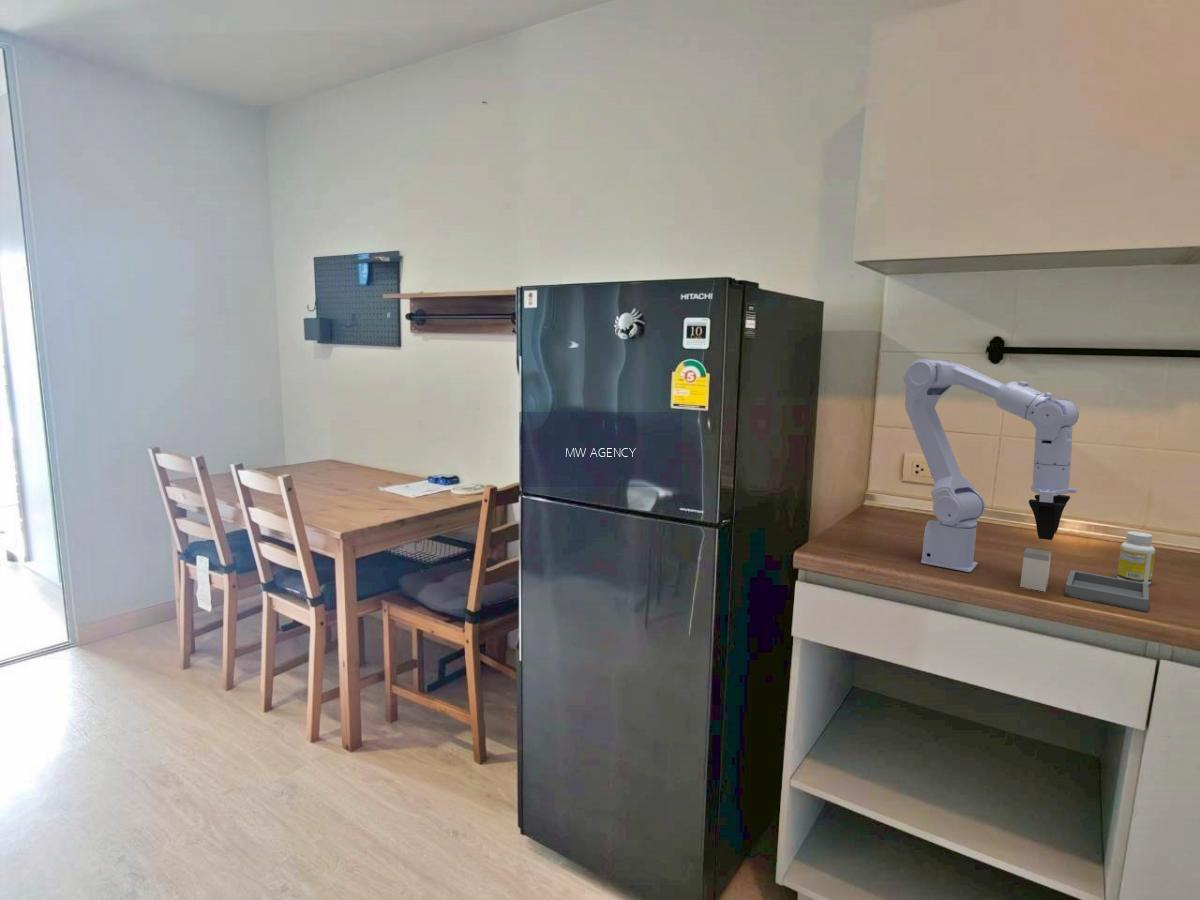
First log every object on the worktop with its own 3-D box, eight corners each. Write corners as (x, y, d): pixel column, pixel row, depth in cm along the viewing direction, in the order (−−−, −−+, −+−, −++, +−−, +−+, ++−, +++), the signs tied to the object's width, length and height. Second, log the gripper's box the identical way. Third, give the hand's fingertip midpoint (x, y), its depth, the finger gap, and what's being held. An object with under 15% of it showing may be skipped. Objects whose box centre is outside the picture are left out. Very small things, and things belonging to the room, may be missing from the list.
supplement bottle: (1135, 577, 138) (1142, 530, 137) (1158, 586, 133) (1165, 537, 131) (1109, 576, 138) (1116, 530, 136) (1131, 585, 132) (1138, 537, 131)
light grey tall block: (1020, 587, 129) (1024, 552, 128) (1022, 582, 132) (1026, 547, 131) (1044, 592, 127) (1049, 556, 126) (1047, 587, 130) (1051, 551, 129)
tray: (1064, 596, 125) (1065, 584, 125) (1069, 580, 134) (1070, 570, 134) (1147, 612, 118) (1149, 600, 117) (1146, 595, 127) (1148, 583, 127)
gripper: (1075, 468, 118) (1070, 545, 119) (1080, 462, 129) (1076, 532, 131) (1027, 466, 122) (1023, 540, 124) (1036, 459, 134) (1033, 527, 135)
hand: (1047, 535), depth 127 cm, fingers open, 7 cm apart
